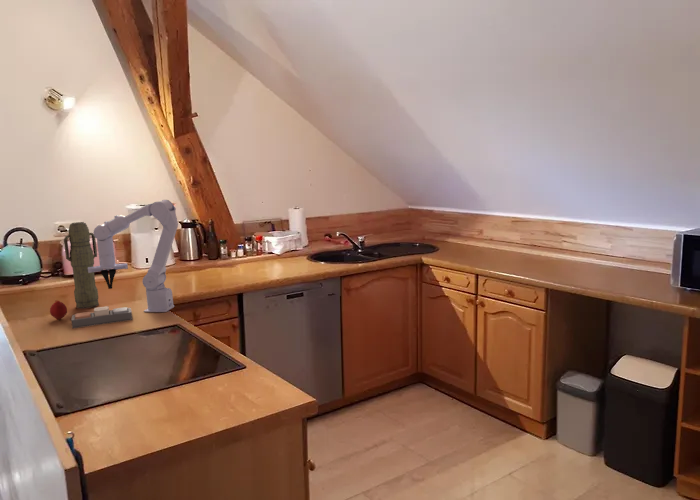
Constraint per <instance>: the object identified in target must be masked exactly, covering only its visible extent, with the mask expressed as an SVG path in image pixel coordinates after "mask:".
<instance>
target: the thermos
mask: <svg viewBox="0 0 700 500" xmlns="http://www.w3.org/2000/svg"><path fill="white" fill-rule="evenodd" d="M90 237H91V238H90ZM68 239H69V243H70V246H69V244H68ZM91 243H92V246H91ZM63 245H64V254H65V260H67V261H68V262H70V266H71V268H72V274H73V282H74V283H73V284H74V291H73V295H74V302H75V306H76V308H77V309H91V308H96V307H97V306H98V307H99V291H98V288H97V285H96V278H95V277H96V276H95V272H91V273H88V267H94V265H95V258H97V257H98V248H97V239H96V238H95V236H94V233H93V232H90V229H89V227H88V224H87V223H86V222H84V221H80V222H79V221H78V222H72V223H70V224H69V227H68V235H65V237H64V238H63ZM69 247H70V249H69Z"/></svg>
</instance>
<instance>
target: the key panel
mask: <svg viewBox="0 0 700 500" xmlns="http://www.w3.org/2000/svg"><path fill="white" fill-rule="evenodd" d="M127 309H128V312H125V313H118V314H114V312H113V309H112V310H110V309H109V315H103V316H95V314H94V311H93V312H90V313H91V317H88V318H80V319H75V315H76V314H72V316H71V319H70V322H71V328H72V329H78V328H85V327H86V328H87V327H90V326H93V327H94V326H98V325H99V326H100V325H107V324H113V323H121V322H127V321H132V320H133V313H132V308H131V307H127Z"/></svg>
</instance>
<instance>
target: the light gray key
mask: <svg viewBox="0 0 700 500" xmlns="http://www.w3.org/2000/svg"><path fill="white" fill-rule="evenodd" d="M127 308H128V307H127V306H125V307H118V308H117V307H116V308H113V309H112V310H113V312H114V314H118V313H125V312H128V309H127Z"/></svg>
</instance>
